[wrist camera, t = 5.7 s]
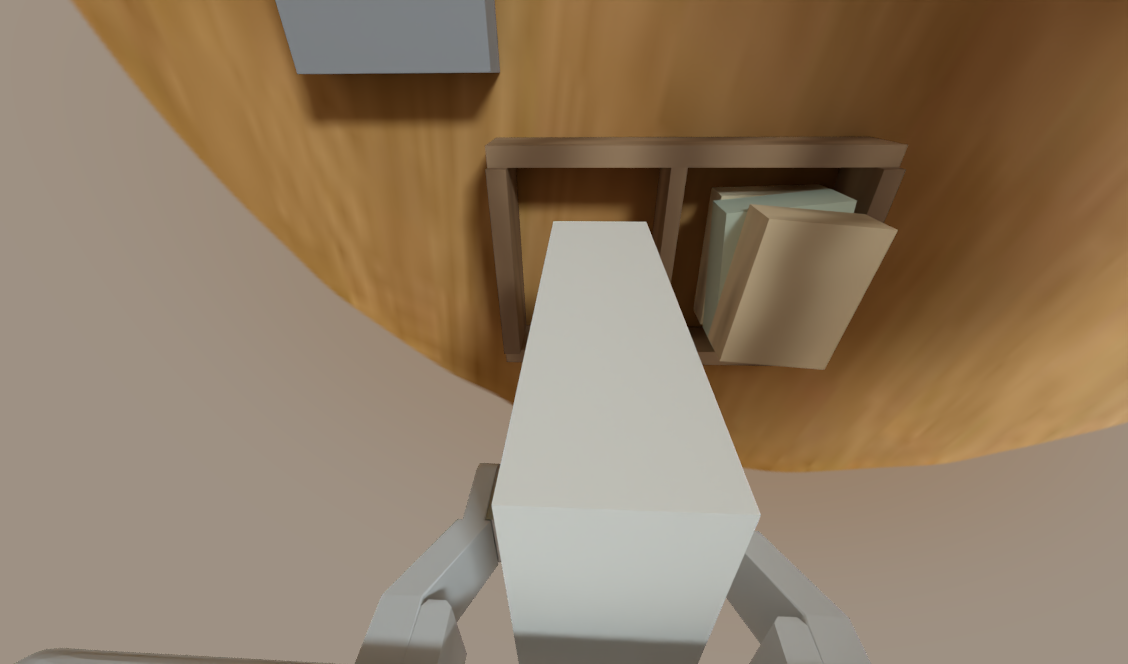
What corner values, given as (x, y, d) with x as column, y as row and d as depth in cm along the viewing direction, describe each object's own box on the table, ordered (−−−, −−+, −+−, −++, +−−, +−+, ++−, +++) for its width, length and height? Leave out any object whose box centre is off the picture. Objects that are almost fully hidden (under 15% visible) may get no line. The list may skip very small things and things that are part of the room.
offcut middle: (830, 188, 21) (857, 200, 19) (800, 319, 26) (819, 341, 23) (713, 200, 22) (726, 213, 20) (702, 327, 26) (712, 348, 24)
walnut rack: (869, 136, 22) (915, 146, 19) (796, 340, 29) (821, 371, 26) (495, 137, 22) (483, 147, 19) (513, 337, 29) (505, 366, 26)
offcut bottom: (815, 182, 23) (837, 192, 21) (781, 305, 28) (797, 323, 26) (709, 185, 24) (721, 195, 22) (691, 306, 28) (700, 324, 26)
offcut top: (865, 214, 20) (897, 230, 18) (803, 344, 24) (824, 369, 22) (749, 203, 20) (769, 218, 17) (707, 336, 24) (719, 361, 22)
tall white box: (646, 221, 15) (760, 514, 5) (628, 400, 20) (669, 731, 10) (553, 221, 15) (491, 505, 5) (557, 398, 20) (529, 722, 10)
